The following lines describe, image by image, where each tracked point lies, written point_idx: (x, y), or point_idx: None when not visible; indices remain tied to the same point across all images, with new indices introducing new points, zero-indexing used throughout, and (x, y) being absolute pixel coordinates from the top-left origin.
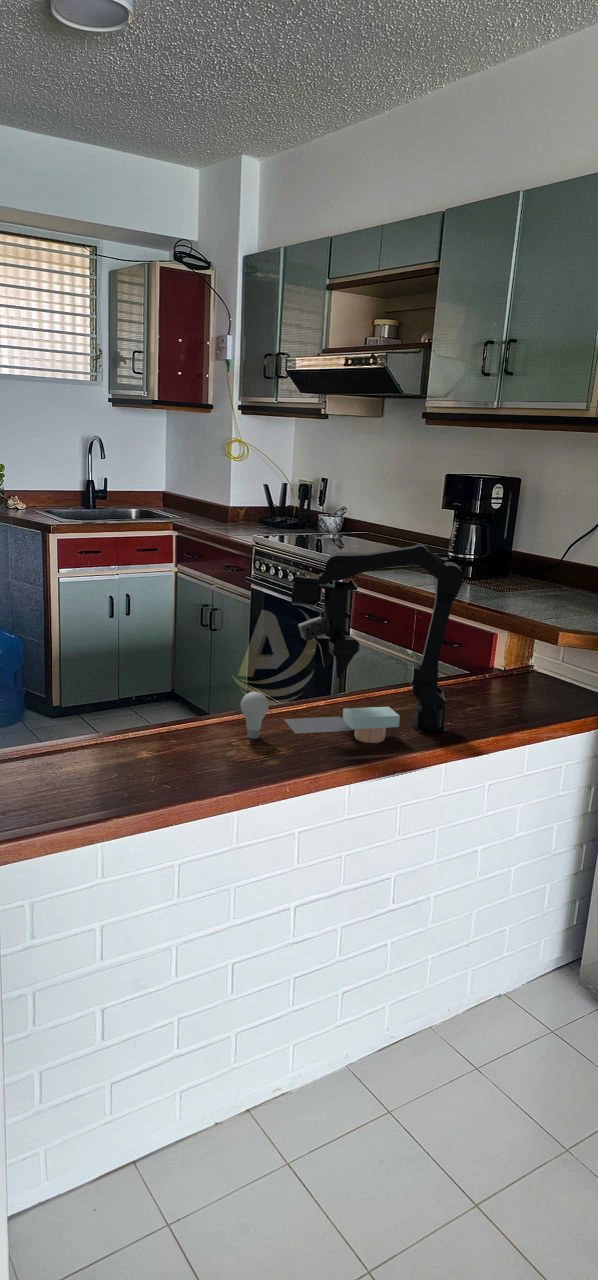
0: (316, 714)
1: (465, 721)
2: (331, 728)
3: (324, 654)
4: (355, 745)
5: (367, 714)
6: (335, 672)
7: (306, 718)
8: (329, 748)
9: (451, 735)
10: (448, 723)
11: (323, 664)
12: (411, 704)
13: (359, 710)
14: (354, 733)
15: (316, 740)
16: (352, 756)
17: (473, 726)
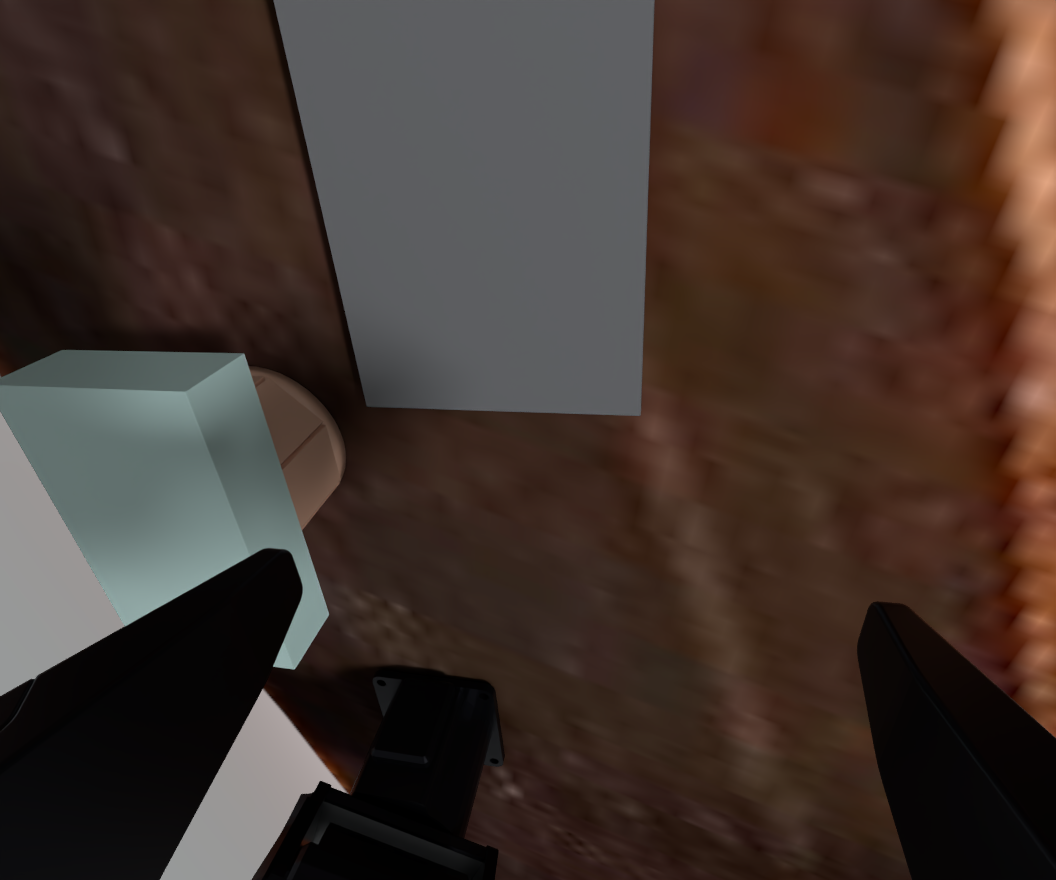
0: (788, 276)
1: (530, 837)
2: (397, 280)
3: (1000, 852)
4: (177, 339)
5: (101, 503)
6: (225, 590)
7: (639, 138)
8: (84, 159)
9: (373, 738)
10: (512, 790)
11: (905, 630)
12: (800, 805)
13: (172, 487)
14: (254, 381)
15: (207, 103)
16: (8, 264)
17: (474, 829)
